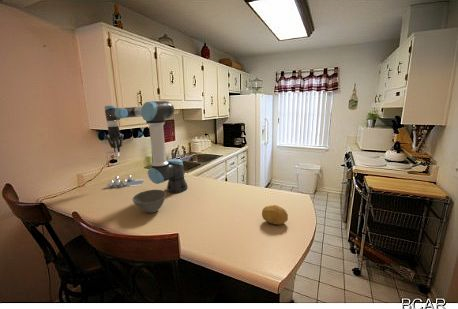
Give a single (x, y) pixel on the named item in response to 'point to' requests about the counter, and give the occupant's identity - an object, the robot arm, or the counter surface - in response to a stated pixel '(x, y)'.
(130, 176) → the spacers
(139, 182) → the mat
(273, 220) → the potato
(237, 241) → the counter surface
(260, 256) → the counter surface
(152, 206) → the bowl
